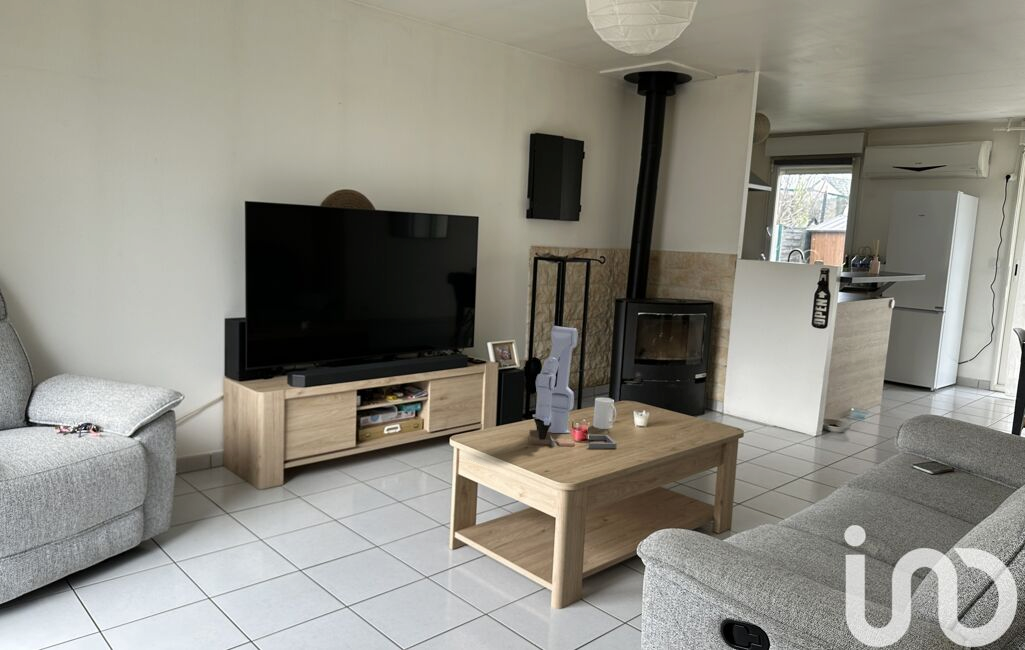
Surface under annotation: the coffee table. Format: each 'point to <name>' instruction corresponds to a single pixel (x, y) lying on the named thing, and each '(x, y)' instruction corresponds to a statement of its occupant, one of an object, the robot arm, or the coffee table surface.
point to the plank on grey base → (536, 440)
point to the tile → (565, 442)
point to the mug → (604, 413)
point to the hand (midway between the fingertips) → (541, 438)
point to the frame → (609, 443)
